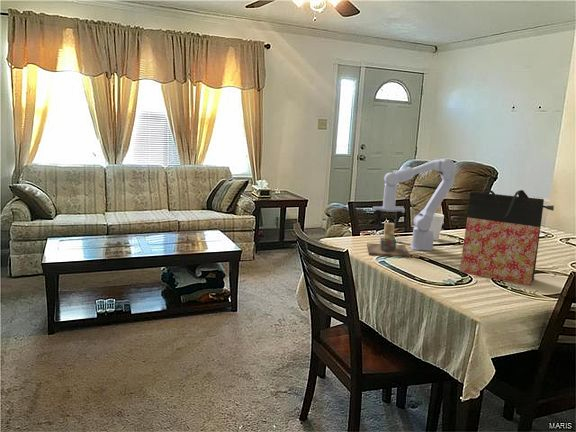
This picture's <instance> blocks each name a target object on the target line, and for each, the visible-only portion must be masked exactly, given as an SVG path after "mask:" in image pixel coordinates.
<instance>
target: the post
mask: <svg viewBox="0 0 576 432" xmlns="http://www.w3.org/2000/svg"><path fill="white" fill-rule="evenodd" d="M383 228H384V229H383V237H382V238H384V239H383V240H385V241H393V238H394V235H395V222H384V227H383Z"/></svg>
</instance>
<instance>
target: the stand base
mask: <svg viewBox="0 0 576 432" xmlns="http://www.w3.org/2000/svg"><path fill="white" fill-rule="evenodd" d="M383 239H384V238H383V237H380V239H379V240H380V241H379V242H380V243H372V242H370V243H369V242H367V243H366V248H367V252H368V256H381V257H382V256H383V257H393V256H401V257H400V258H409V257H410V258H411V254H410V252H409V250H408V249H407V247H406V245H405V244H402V245H401V244H397V240H396V238H394V237H393V241H385V240H383Z"/></svg>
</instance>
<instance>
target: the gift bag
mask: <svg viewBox="0 0 576 432" xmlns="http://www.w3.org/2000/svg"><path fill="white" fill-rule="evenodd" d="M468 200H469V201H468V210H467V219H466V225H465V232H464V239H463V246H462V252H461V259H460V266H459V273H464V274H469V275H473V276H474V275H475V276H480V277H484V278H489V279H495V280H500V281H505V282H509V283H510V282H511V283H514V284H521V285H525V286H530V287H531V285H532V284H533V282H534V280H535V275H536V274H535V273H536V265H537V256H538V250H539V241H540V235H541V226H542V219H543V211H544V208H545V209H546V210H549V211H554V210H555V208H554V207H555V205H544V202H545V199H544V198H538V197H537V198H536V197H529V196H528V195H527V194H526V192H525V191H524V190H523V189H521V190H517V191H516V192H515V193H514V195H506V194H497V193H495V192H494V191H493V190H491V189H490V188H487V189H486V190H485V192H478V191H470V192H469V199H468Z"/></svg>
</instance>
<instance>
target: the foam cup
mask: <svg viewBox="0 0 576 432" xmlns="http://www.w3.org/2000/svg"><path fill="white" fill-rule="evenodd" d="M444 219H445V215H444V214H441V213H436V212H435V213H434V215H433V220H432V222H431V227H430V228H429V231H433V233H434V240H436V241H439V239H440V234H441V230H442V226H443V223H444Z"/></svg>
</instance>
